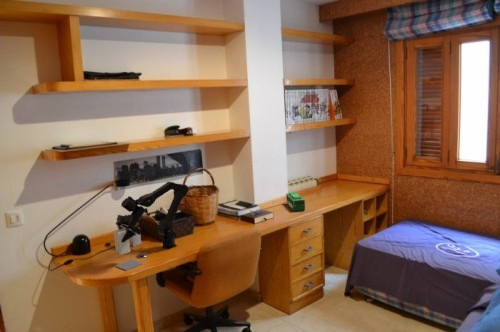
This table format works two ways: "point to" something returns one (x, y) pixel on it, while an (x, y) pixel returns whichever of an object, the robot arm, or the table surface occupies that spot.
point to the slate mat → (128, 265)
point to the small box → (135, 240)
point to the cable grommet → (142, 255)
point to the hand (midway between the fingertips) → (119, 241)
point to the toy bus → (295, 201)
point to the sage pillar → (121, 247)
